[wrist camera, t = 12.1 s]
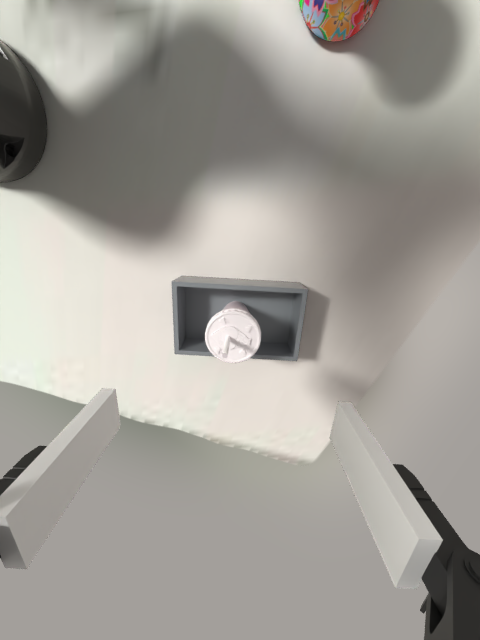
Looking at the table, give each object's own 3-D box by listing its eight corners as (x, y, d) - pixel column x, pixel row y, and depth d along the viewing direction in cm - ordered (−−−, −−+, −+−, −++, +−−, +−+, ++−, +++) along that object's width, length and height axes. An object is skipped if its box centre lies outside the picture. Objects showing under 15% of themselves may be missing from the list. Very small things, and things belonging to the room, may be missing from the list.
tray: (183, 339, 37) (174, 354, 32) (181, 275, 34) (171, 281, 29) (290, 345, 37) (297, 361, 32) (299, 282, 34) (308, 289, 29)
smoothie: (218, 288, 34) (201, 318, 20) (261, 296, 34) (272, 331, 21) (211, 328, 36) (192, 379, 22) (252, 336, 36) (257, 391, 23)
